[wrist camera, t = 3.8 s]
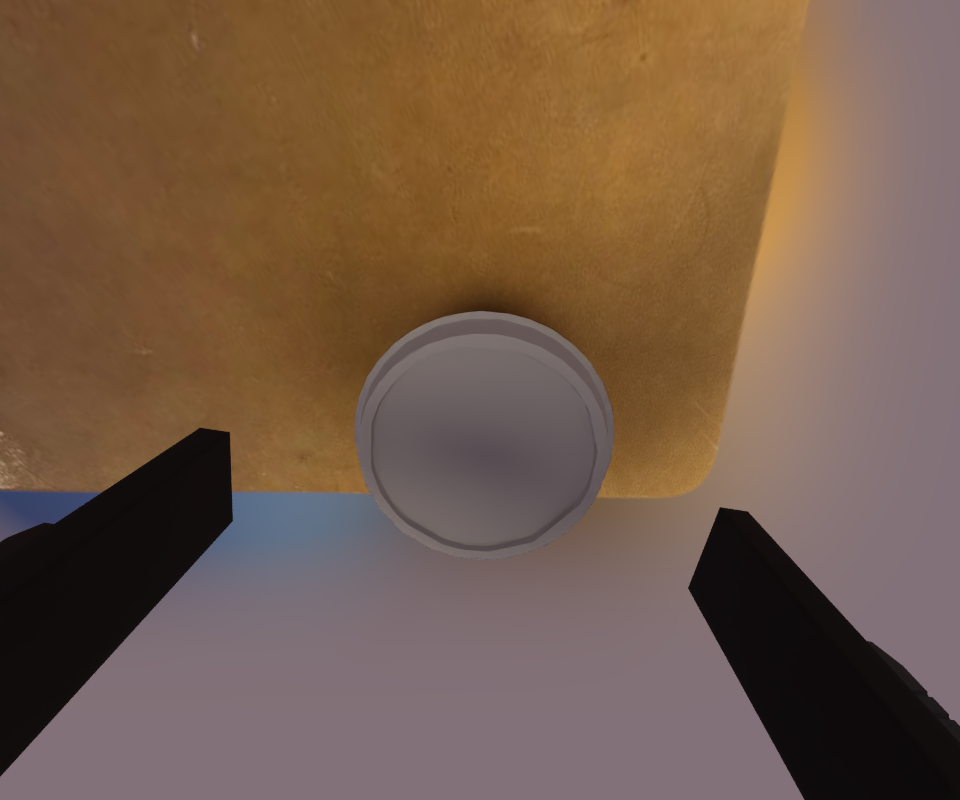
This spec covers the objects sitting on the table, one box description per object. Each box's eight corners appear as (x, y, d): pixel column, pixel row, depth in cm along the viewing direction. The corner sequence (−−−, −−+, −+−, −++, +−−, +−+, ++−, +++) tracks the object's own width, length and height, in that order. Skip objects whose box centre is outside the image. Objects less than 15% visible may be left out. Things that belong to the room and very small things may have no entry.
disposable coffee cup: (436, 453, 29) (398, 591, 18) (385, 307, 26) (300, 362, 15) (585, 417, 28) (644, 541, 17) (549, 259, 25) (592, 280, 14)
